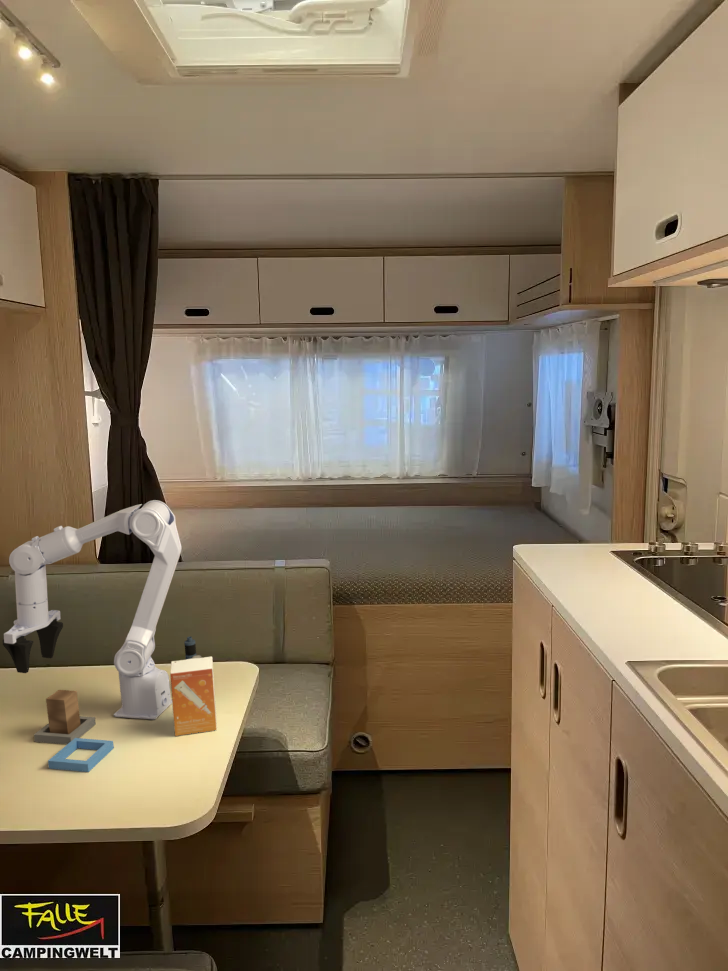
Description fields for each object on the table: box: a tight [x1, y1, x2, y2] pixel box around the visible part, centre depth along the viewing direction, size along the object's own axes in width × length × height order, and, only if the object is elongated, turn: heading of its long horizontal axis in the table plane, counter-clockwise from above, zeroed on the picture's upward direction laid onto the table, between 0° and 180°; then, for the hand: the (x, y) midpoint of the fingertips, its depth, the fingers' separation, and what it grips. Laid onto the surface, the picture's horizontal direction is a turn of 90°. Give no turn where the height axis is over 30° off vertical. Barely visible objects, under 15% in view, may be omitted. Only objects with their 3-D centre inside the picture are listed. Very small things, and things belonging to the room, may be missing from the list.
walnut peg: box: [45, 689, 81, 734], centre depth 137 cm, size 4×4×8 cm
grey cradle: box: [33, 715, 96, 745], centre depth 137 cm, size 8×8×2 cm
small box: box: [169, 656, 218, 737], centre depth 137 cm, size 8×6×13 cm
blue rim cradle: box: [47, 737, 115, 773], centre depth 128 cm, size 8×8×2 cm
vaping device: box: [184, 636, 203, 660], centre depth 153 cm, size 3×5×12 cm, turn 45°
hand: (35, 664), depth 142 cm, fingers open, 7 cm apart
